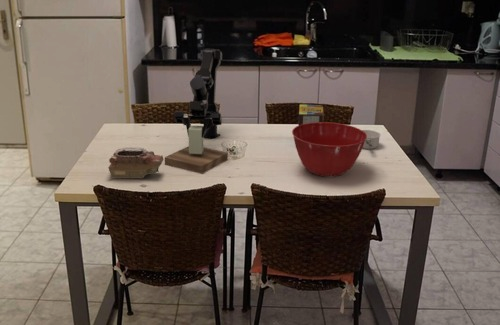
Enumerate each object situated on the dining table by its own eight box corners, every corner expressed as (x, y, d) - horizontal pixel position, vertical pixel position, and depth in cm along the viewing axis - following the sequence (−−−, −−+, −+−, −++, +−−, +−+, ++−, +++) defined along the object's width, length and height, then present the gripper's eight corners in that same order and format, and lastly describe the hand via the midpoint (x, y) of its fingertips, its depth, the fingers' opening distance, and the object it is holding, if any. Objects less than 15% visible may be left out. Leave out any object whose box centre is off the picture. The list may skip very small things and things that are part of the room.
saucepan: (355, 156, 243) (356, 144, 241) (351, 141, 261) (352, 129, 259) (383, 157, 242) (384, 145, 240) (377, 142, 261) (378, 130, 259)
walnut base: (191, 151, 246) (191, 144, 245) (227, 159, 238) (227, 152, 237) (164, 164, 232) (164, 157, 231) (201, 173, 223) (201, 166, 222)
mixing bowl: (374, 166, 233) (377, 129, 227) (347, 190, 210) (350, 150, 204) (309, 153, 246) (311, 117, 241) (277, 174, 223) (278, 136, 218)
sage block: (191, 149, 236) (190, 125, 232) (203, 149, 235) (203, 126, 232) (189, 153, 231) (188, 129, 228) (201, 154, 231) (201, 129, 227)
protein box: (321, 138, 265) (323, 104, 260) (321, 149, 251) (323, 114, 245) (297, 137, 266) (299, 104, 260) (297, 148, 252) (298, 113, 246)
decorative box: (118, 167, 229) (116, 143, 225) (168, 169, 227) (167, 146, 223) (106, 179, 217) (104, 155, 213) (159, 182, 214) (158, 158, 211)
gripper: (173, 91, 229) (168, 126, 223) (220, 93, 228) (216, 128, 221) (178, 105, 240) (173, 139, 233) (223, 107, 238) (219, 141, 232)
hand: (195, 137), depth 230 cm, fingers closed on sage block, 5 cm apart
